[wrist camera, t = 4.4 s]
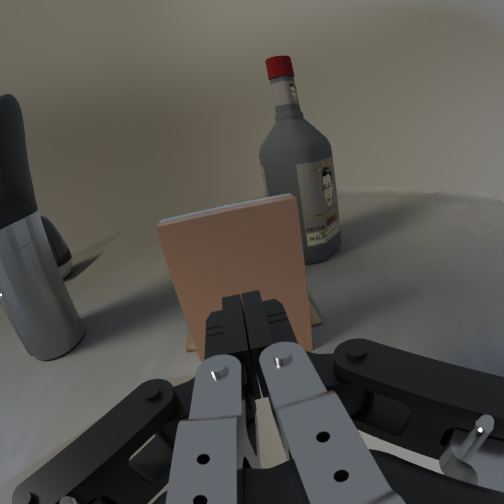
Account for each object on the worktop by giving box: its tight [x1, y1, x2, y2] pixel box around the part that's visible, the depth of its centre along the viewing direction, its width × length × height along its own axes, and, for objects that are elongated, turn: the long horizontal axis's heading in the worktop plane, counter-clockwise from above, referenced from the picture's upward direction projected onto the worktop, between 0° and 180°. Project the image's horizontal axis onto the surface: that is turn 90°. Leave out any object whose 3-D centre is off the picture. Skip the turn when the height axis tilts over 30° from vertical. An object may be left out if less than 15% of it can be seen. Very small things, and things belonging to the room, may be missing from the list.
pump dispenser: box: [40, 216, 72, 279], centre depth 53 cm, size 10×10×15 cm
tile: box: [156, 193, 313, 362], centre depth 23 cm, size 10×2×14 cm, turn 97°
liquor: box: [259, 56, 341, 264], centre depth 40 cm, size 9×9×30 cm
